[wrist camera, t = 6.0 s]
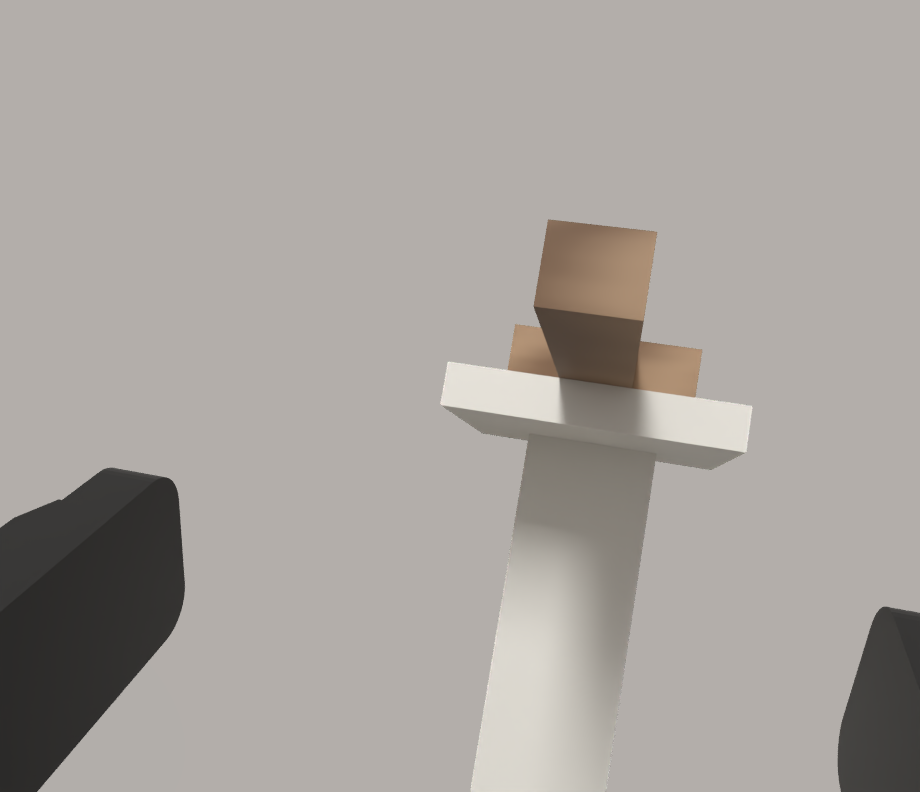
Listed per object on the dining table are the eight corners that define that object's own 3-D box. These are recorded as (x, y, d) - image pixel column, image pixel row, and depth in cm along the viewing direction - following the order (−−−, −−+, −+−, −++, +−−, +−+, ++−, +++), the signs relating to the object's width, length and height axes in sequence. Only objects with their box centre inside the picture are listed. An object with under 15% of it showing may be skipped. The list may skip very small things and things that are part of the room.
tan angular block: (432, 293, 20) (451, 191, 20) (520, 405, 39) (529, 353, 40) (753, 335, 19) (769, 226, 19) (680, 430, 38) (688, 375, 38)
